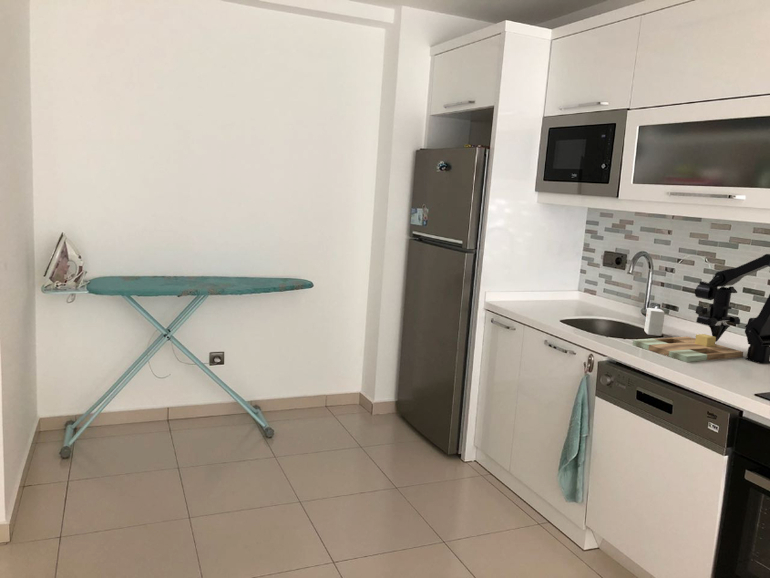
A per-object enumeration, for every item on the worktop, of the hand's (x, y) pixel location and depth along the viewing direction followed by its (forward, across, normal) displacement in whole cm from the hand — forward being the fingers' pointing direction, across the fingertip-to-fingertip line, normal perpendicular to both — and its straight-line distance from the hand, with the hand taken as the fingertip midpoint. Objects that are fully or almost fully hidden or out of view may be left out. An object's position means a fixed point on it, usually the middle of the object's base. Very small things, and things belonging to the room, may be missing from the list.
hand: (715, 341), depth 248 cm
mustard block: (+1, +6, 0) cm, 6 cm away
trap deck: (+3, +16, 0) cm, 16 cm away
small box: (+3, +4, -26) cm, 26 cm away
